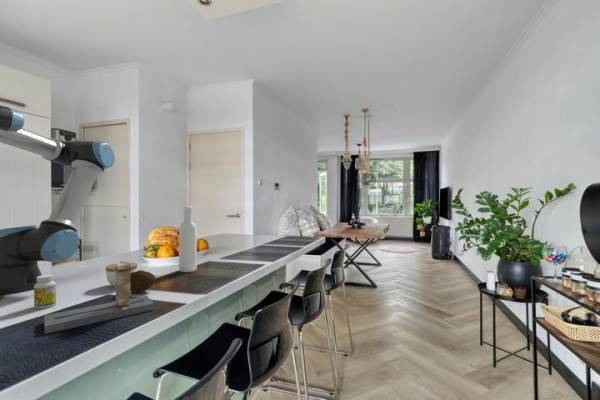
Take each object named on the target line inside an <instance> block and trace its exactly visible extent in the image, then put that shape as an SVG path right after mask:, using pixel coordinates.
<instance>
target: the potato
mask: <svg viewBox="0 0 600 400" xmlns="http://www.w3.org/2000/svg"><path fill="white" fill-rule="evenodd" d="M156 279H157V278H156V276H155V275H154V274H153V273H151V272H149V271H147V270H139V269H138V270H137V271H136V272H132V273H130V293H141V292H144V291H147V290H149V289H150V288H151V287H152V286H153V285H154V284H155V283H156V281H157V280H156Z"/></svg>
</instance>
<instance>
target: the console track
mask: <svg viewBox="0 0 600 400" xmlns="http://www.w3.org/2000/svg"><path fill="white" fill-rule="evenodd" d="M153 310H155V302H154V301H153V300H152V299H151V298H150V297H149V296H148V295H143V296H142V295H141V296H138V297H133V298H130V304H129V305H124V306H120V307H119V306H118V305H117V303H116V301H112V302H108V303H101V304H96V305H92V306H91V305H90V306H85V307H81V308H76V309H71V310H66V311H65V310H64V311H61V312H55V313H50V314H46V315H45V314H44V316H43V318H44V319H43V320H44V321H43V322H44V323H43V324H44V325H43V326H44V335H47V334H51V333H55V332H56V333H57V332H60V331H64V330H65V331H66V330H69V329H74V328H77V327H82V326H86V325H92V324H96V323H101V322H104V321H109V320H113V319H118V318H123V317H127V316H132V315H136V314H141V313H144V312H149V311H153Z"/></svg>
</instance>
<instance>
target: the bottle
mask: <svg viewBox="0 0 600 400" xmlns="http://www.w3.org/2000/svg"><path fill="white" fill-rule="evenodd" d="M197 230H198V229H197V225H196V224H195V223H194V222H193V207H192V206H184V207H183V222H182V223H181V224H180V226H179V229H178V231H179V233H178V236H179V239H178V241H179V243H178V246H179V247H178V252H179V253H178V256H179V257H178V258H179V259H178V261H179V262H178V268H179V269H178V270H179V272H181V273H191V272H195V271H197V268H198V260H197V259H198V257H197V256H198V254H197V253H198V251H197V250H198V248H197V247H198V237H197V236H198V234H197V233H198V231H197Z"/></svg>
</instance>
